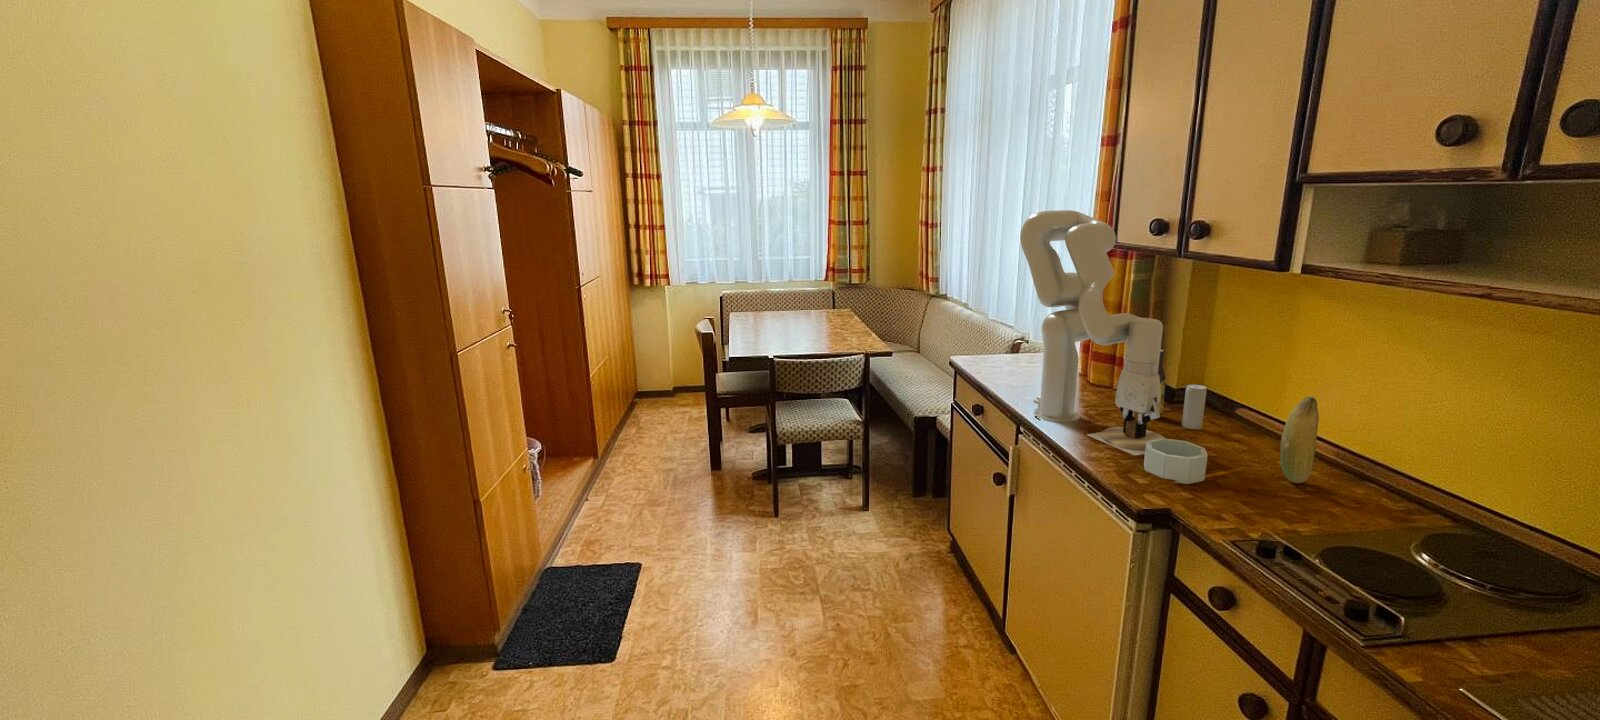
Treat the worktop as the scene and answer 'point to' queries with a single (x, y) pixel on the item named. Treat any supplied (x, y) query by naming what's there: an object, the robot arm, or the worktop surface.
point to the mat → (1099, 437)
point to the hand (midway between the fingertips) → (1134, 434)
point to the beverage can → (1194, 406)
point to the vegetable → (1300, 441)
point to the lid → (1128, 437)
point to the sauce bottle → (1161, 383)
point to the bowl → (1175, 460)
